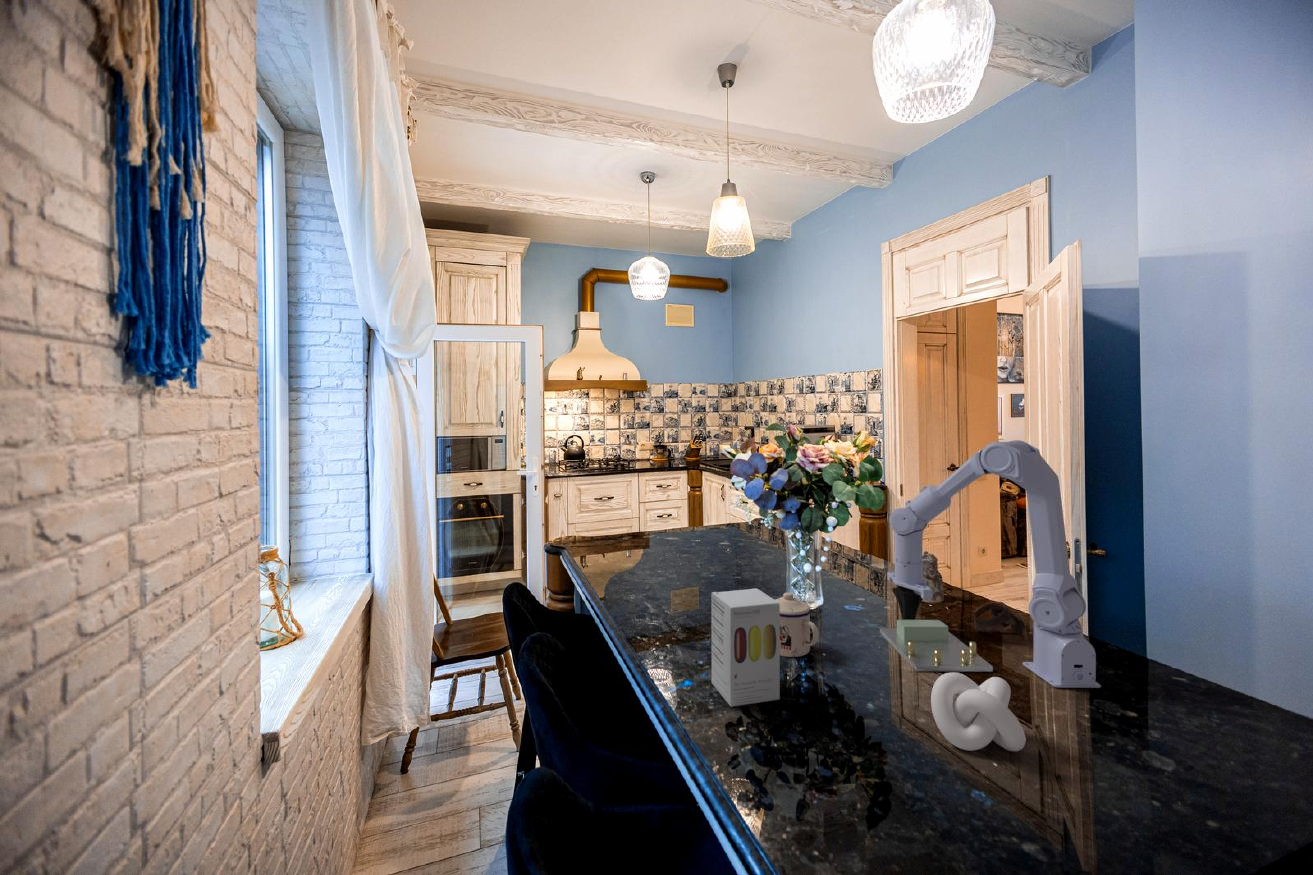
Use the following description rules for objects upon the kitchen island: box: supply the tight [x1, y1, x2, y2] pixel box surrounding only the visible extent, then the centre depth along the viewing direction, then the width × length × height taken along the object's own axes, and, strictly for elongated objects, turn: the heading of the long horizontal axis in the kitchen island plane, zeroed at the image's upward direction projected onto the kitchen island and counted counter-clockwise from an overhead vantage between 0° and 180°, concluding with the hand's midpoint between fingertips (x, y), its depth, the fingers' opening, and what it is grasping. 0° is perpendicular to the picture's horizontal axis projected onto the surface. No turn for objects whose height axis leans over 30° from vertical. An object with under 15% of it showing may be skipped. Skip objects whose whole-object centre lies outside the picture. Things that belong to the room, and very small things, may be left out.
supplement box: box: [711, 587, 781, 708], centre depth 97 cm, size 10×9×17 cm
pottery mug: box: [972, 601, 1029, 643], centre depth 122 cm, size 12×10×8 cm
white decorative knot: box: [930, 672, 1027, 752], centre depth 82 cm, size 11×12×9 cm
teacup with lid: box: [774, 592, 820, 658], centre depth 114 cm, size 12×9×12 cm
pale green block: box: [896, 619, 949, 641], centre depth 118 cm, size 4×9×3 cm, turn 87°
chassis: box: [879, 627, 994, 673], centre depth 113 cm, size 19×14×4 cm
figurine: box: [921, 551, 945, 604], centre depth 146 cm, size 7×7×12 cm
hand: (908, 620), depth 125 cm, fingers closed
